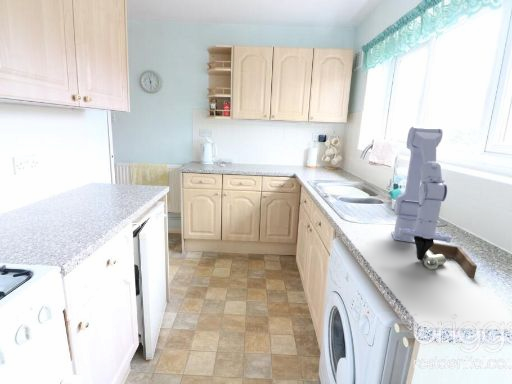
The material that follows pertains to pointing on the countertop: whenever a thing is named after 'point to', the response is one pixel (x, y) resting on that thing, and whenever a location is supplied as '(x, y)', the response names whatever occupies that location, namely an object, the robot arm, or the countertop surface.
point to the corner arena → (455, 256)
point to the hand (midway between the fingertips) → (419, 258)
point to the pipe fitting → (433, 260)
